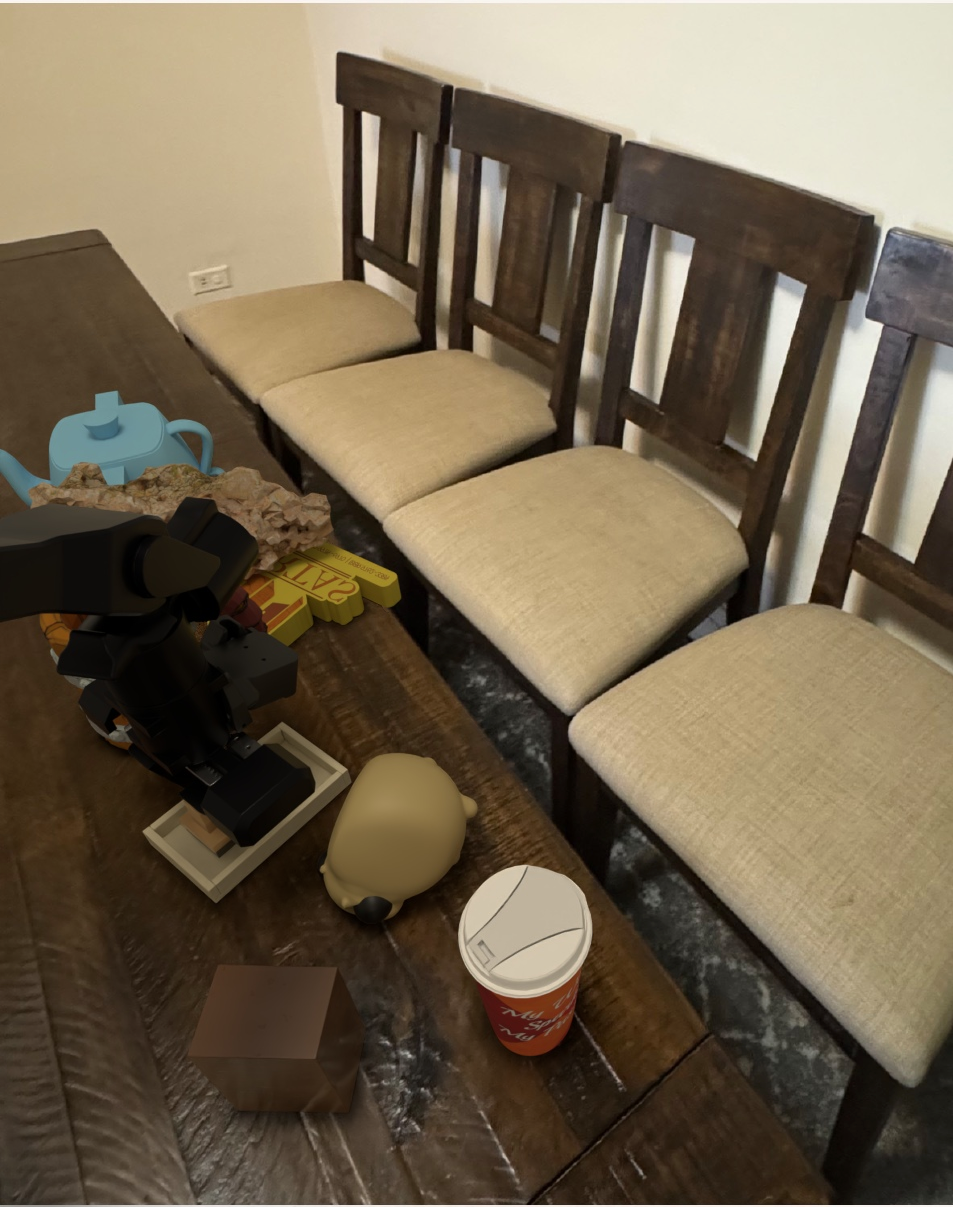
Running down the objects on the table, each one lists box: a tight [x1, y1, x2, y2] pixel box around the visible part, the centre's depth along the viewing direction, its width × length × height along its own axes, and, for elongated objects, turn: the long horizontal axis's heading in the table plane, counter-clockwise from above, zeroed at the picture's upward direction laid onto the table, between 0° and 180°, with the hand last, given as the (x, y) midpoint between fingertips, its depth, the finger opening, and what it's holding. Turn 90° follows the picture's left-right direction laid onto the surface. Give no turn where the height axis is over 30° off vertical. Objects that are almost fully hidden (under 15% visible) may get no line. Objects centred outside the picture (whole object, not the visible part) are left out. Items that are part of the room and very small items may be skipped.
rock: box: [28, 462, 335, 580], centre depth 79 cm, size 25×8×15 cm, turn 117°
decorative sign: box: [206, 541, 402, 647], centre depth 83 cm, size 20×3×15 cm
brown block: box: [186, 963, 367, 1114], centre depth 50 cm, size 7×5×10 cm
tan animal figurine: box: [316, 752, 479, 925], centre depth 61 cm, size 10×12×11 cm
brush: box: [178, 800, 236, 858], centre depth 64 cm, size 6×4×4 cm
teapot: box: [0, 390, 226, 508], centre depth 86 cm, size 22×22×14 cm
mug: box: [38, 586, 268, 751], centre depth 70 cm, size 11×16×15 cm, turn 110°
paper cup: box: [457, 864, 593, 1057], centre depth 52 cm, size 8×8×14 cm
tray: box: [142, 721, 352, 904], centre depth 66 cm, size 13×8×2 cm, turn 145°
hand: (228, 805), depth 64 cm, fingers closed on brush, 2 cm apart
